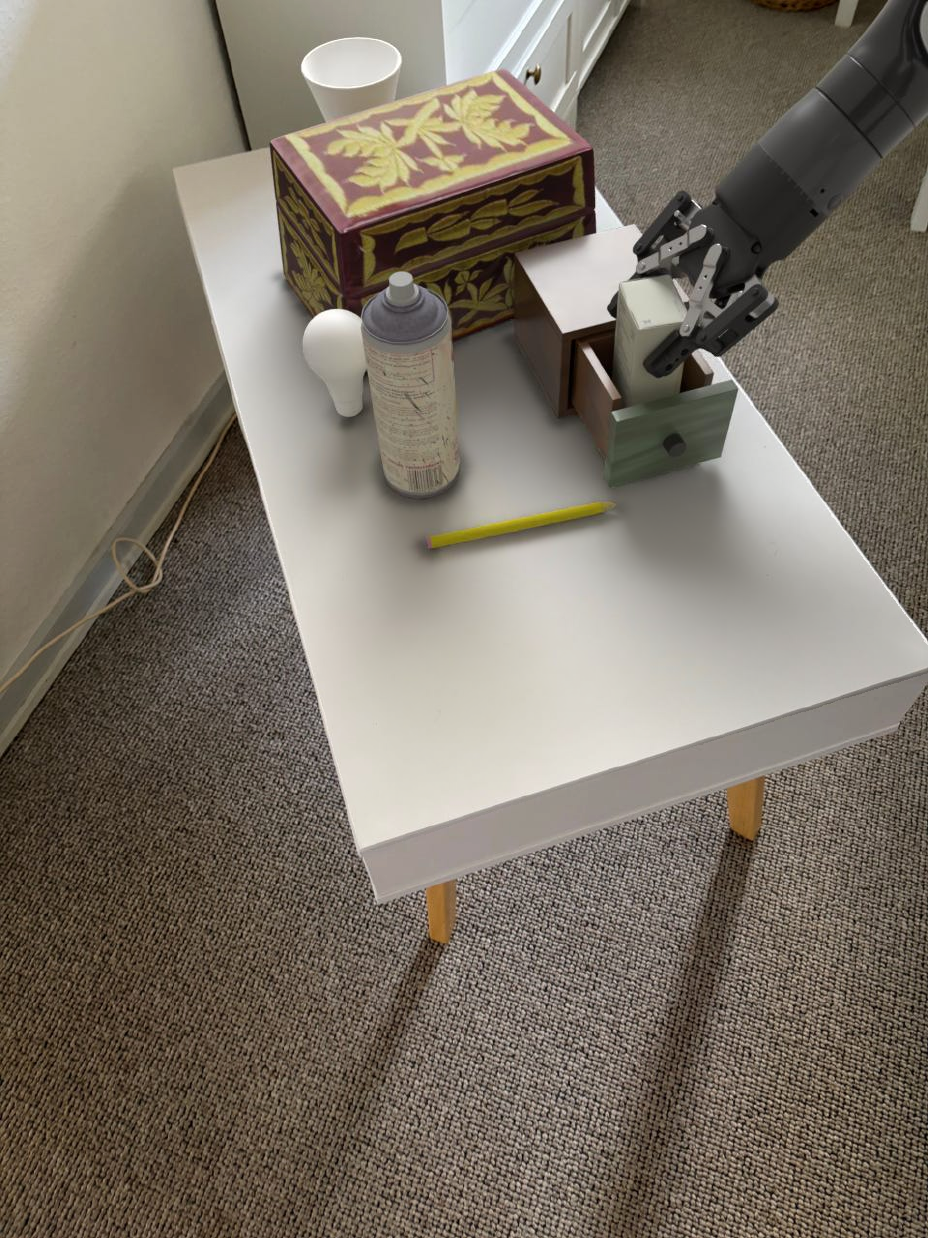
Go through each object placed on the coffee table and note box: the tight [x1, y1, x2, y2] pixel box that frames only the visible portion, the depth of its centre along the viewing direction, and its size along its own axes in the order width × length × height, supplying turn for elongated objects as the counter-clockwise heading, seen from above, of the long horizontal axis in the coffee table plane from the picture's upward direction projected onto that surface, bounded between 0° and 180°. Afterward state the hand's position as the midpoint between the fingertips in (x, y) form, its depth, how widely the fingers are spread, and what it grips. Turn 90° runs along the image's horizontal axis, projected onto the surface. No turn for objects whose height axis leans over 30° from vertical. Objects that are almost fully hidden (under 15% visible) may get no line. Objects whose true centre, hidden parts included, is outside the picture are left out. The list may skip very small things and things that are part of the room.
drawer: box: [571, 328, 739, 490], centre depth 84 cm, size 12×11×8 cm
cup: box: [300, 37, 403, 123], centre depth 107 cm, size 10×10×14 cm
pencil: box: [425, 501, 617, 550], centre depth 82 cm, size 16×1×1 cm, turn 103°
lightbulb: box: [302, 309, 367, 418], centre depth 87 cm, size 6×6×11 cm
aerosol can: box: [361, 272, 461, 499], centre depth 79 cm, size 7×7×20 cm
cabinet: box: [513, 223, 690, 420], centre depth 90 cm, size 12×12×10 cm
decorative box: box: [269, 68, 597, 376], centre depth 96 cm, size 28×19×15 cm
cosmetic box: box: [612, 275, 687, 410], centre depth 81 cm, size 6×4×12 cm
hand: (632, 343), depth 79 cm, fingers closed on cosmetic box, 6 cm apart
